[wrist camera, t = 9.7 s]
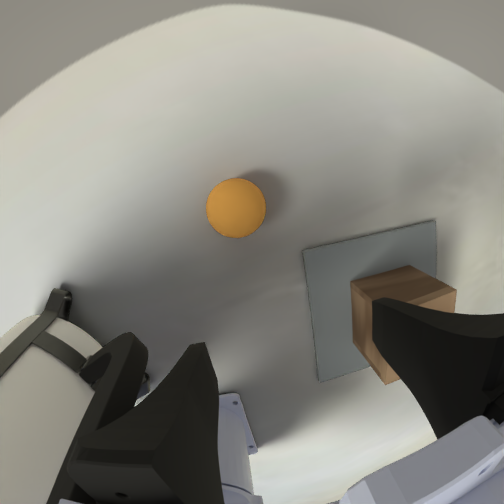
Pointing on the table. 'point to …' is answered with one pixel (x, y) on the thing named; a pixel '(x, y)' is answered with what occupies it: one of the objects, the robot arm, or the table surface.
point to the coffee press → (59, 399)
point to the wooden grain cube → (399, 288)
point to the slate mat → (339, 291)
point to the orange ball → (236, 208)
